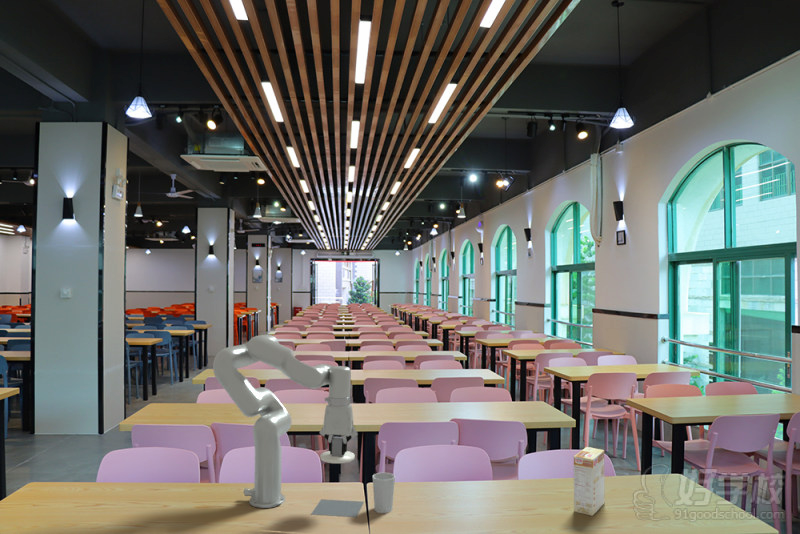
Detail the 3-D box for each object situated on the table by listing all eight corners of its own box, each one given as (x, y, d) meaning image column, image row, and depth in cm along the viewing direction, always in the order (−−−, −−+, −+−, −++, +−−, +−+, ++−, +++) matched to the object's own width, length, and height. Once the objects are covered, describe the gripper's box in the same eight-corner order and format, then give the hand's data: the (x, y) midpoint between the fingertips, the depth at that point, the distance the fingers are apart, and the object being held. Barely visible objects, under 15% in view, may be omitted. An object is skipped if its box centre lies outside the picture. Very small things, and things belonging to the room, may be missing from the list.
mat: (310, 515, 196) (310, 514, 196) (321, 500, 210) (321, 499, 210) (356, 518, 194) (356, 517, 194) (364, 503, 208) (364, 501, 208)
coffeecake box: (586, 498, 214) (585, 446, 215) (605, 503, 210) (605, 449, 211) (572, 511, 202) (572, 455, 203) (593, 516, 198) (593, 459, 199)
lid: (316, 462, 197) (317, 441, 198) (325, 452, 209) (325, 432, 209) (350, 464, 196) (351, 443, 196) (357, 454, 208) (358, 434, 208)
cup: (392, 516, 196) (392, 480, 197) (369, 514, 198) (370, 479, 198) (396, 507, 204) (397, 473, 204) (375, 505, 206) (375, 471, 206)
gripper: (313, 402, 201) (312, 455, 200) (360, 405, 199) (358, 458, 198) (319, 398, 208) (317, 449, 207) (364, 400, 206) (362, 452, 205)
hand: (337, 453), depth 203 cm, fingers closed on lid, 3 cm apart
